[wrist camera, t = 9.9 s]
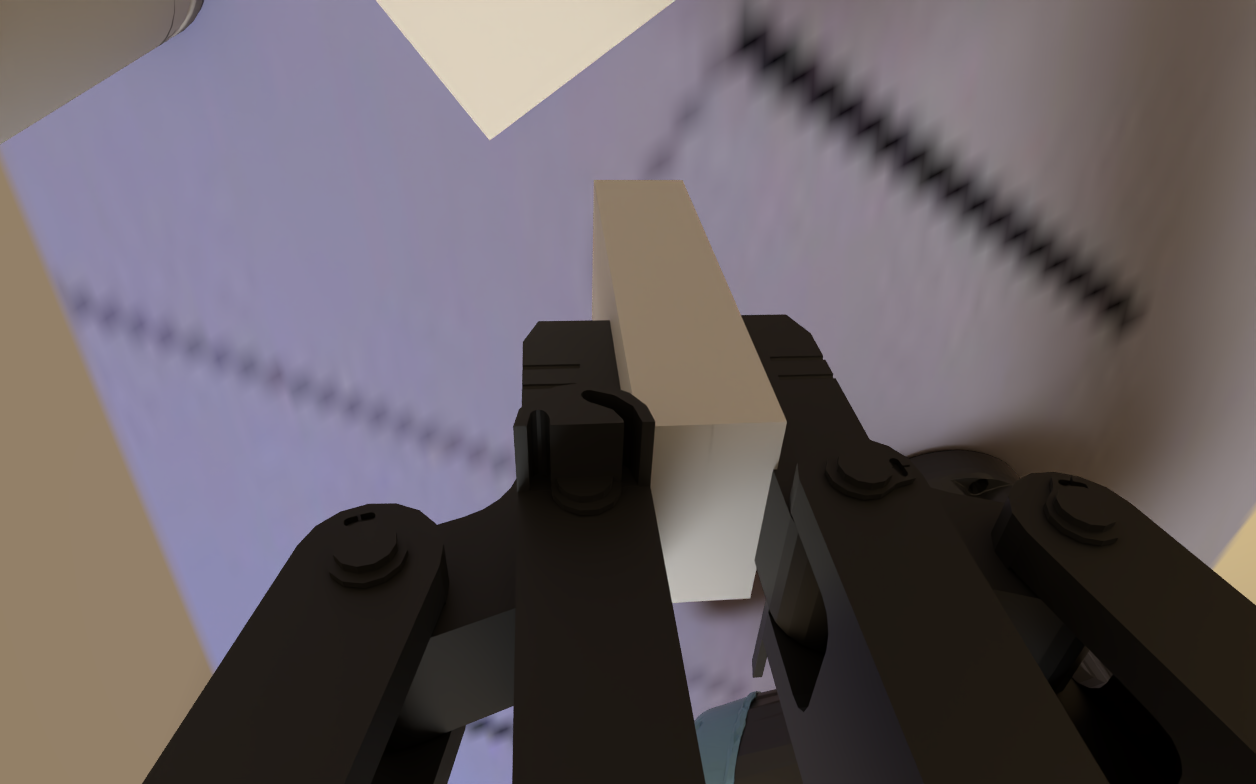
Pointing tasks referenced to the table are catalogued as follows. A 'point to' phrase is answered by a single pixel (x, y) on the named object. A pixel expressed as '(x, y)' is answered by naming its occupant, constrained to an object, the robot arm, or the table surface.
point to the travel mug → (74, 49)
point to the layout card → (513, 46)
